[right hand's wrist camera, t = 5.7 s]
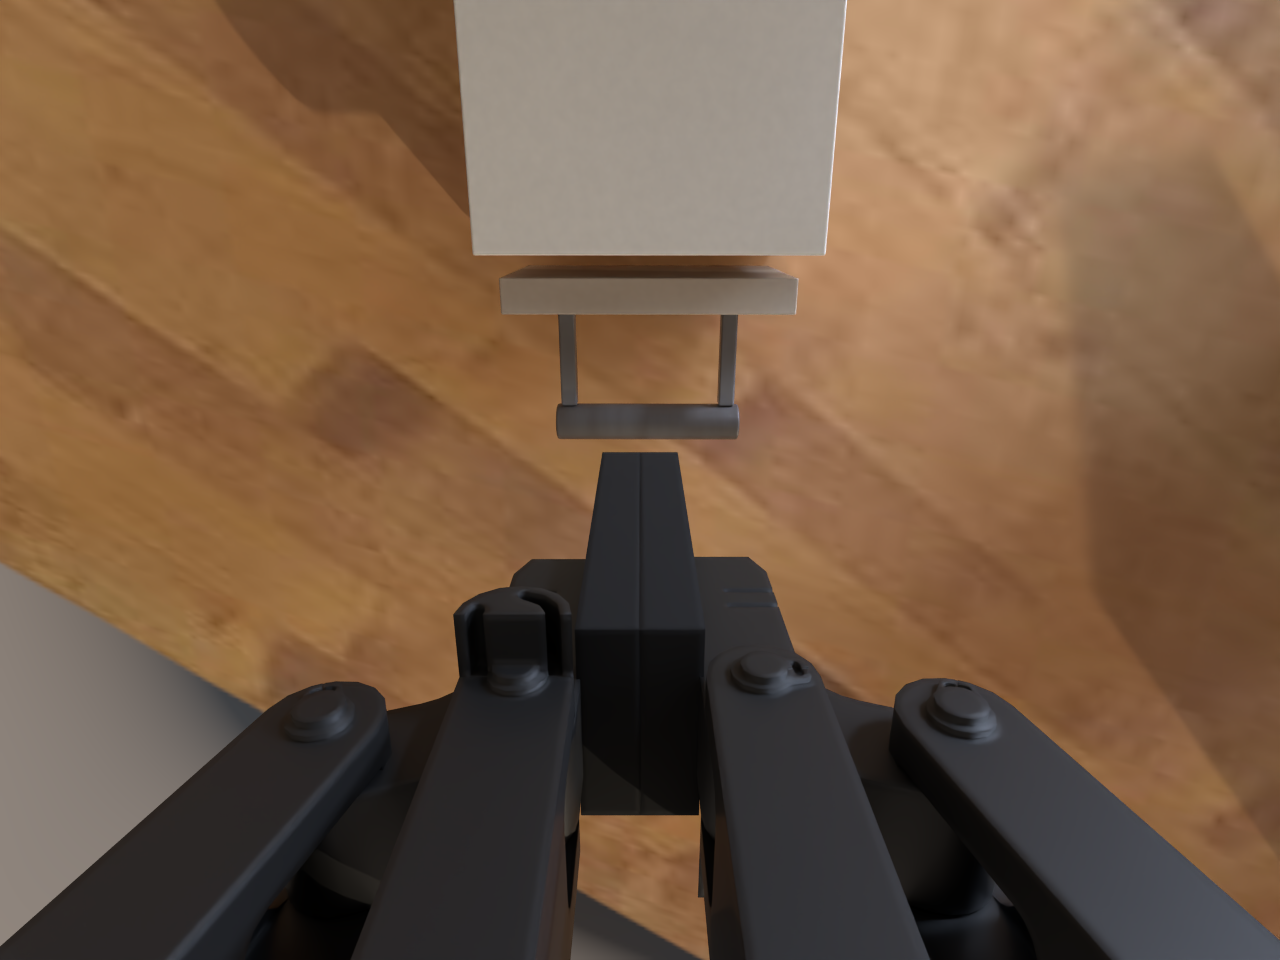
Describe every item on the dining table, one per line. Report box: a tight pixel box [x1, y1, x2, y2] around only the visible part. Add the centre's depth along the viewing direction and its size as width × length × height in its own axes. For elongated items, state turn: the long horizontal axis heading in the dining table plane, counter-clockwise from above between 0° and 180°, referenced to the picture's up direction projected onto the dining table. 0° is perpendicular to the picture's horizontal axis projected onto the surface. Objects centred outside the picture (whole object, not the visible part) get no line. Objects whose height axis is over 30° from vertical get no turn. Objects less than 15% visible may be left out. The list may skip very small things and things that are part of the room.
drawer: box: [499, 266, 798, 439], centre depth 25 cm, size 25×10×6 cm, turn 0°
